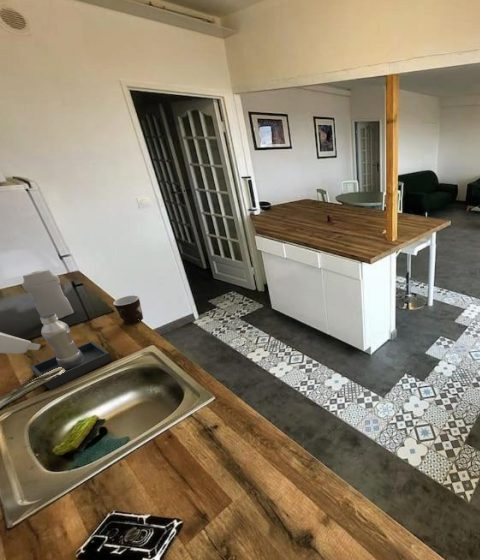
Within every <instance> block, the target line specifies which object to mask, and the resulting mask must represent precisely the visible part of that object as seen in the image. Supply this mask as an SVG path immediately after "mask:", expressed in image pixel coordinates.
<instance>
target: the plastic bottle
mask: <svg viewBox="0 0 480 560" xmlns="http://www.w3.org/2000/svg"><path fill="white" fill-rule="evenodd" d="M39 320H40V322H41V324H42V325H43V326H42V327H41V331H40V334H41V336H42V337H43V339H44V340H45V341H46V342H47V343H48V345H49V346H50V347H51V349H52V350H53V351H52V352H53V353H54V356H56V360H57V363H58V365H59V366H60V367H62V368H64V369H70V368H74V367H76V366H78V365H80V364H81V363H82V362H83V360H84V356H83V354H82V352H81V351H80V350H79V349H78V348H77V347H78V346H77V345H76V343H75V342H74V339H73V337H72V333H71V330H70V327H69V325H68V324H67V323H65V322H64V321H62V320H60V319H58V317H57V316H56V314H55V313H50V314H46V315H43V316H39Z"/></svg>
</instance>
